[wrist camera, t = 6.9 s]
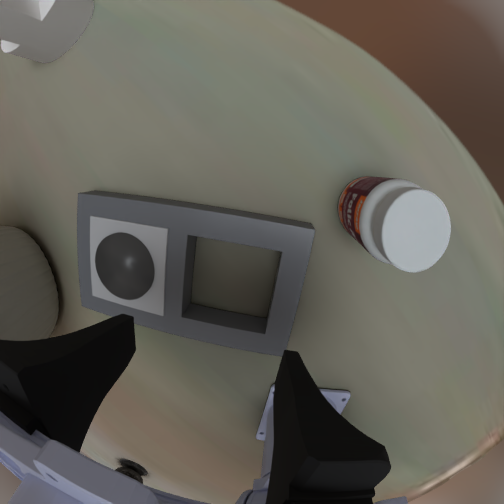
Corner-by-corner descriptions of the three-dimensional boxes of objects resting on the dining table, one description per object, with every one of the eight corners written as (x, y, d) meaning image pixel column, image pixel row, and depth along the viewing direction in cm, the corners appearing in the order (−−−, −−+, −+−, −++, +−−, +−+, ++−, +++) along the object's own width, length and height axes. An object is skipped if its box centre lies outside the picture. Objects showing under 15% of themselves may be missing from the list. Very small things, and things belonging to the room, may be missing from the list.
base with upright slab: (101, 21, 16) (23, -25, 5) (40, 78, 18) (-43, 63, 6) (86, -15, 14) (26, -55, 3) (32, 35, 16) (-34, 15, 5)
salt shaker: (154, 472, 33) (132, 524, 21) (142, 477, 35) (122, 524, 23) (124, 455, 32) (97, 506, 21) (114, 461, 34) (90, 507, 22)
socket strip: (283, 340, 23) (283, 361, 20) (95, 295, 24) (78, 308, 21) (311, 223, 20) (316, 231, 17) (95, 190, 21) (73, 194, 18)
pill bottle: (327, 188, 19) (360, 198, 11) (385, 168, 18) (445, 168, 10) (347, 248, 20) (385, 294, 12) (402, 228, 19) (462, 260, 11)
